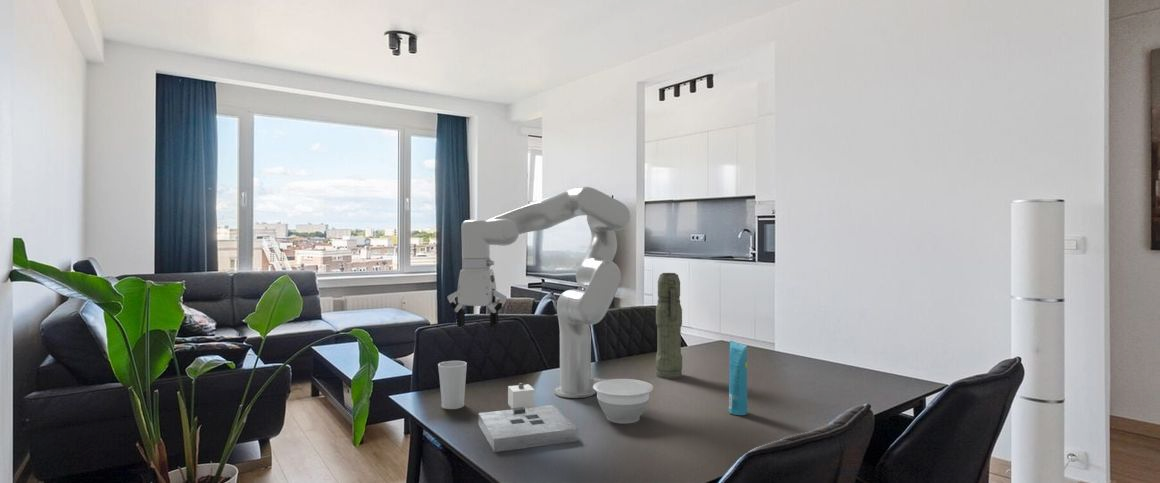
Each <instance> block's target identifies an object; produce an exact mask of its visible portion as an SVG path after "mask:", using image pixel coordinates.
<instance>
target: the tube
mask: <svg viewBox="0 0 1160 483" xmlns="http://www.w3.org/2000/svg"><path fill="white" fill-rule="evenodd" d="M729 341H730V342H729V376H728V377H729V380H728V383H729V384H728V413H729V414H731V415H734V416H746V415H747V414H748V373H747V372H748V359H747V356H748V354H747V351H748V349H747V347H748V345H747V344H744V343H740V342H737V341H734V340H732V339H730V340H729Z"/></svg>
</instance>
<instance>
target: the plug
mask: <svg viewBox="0 0 1160 483" xmlns="http://www.w3.org/2000/svg"><path fill="white" fill-rule="evenodd" d="M535 394H536V392H535V389H534V388H533V386H532V385H530V384H527V383H526V384H525V383H523V382H519V383H518V385H508V386H507V404H508V406H509V407H510V410H512V408H518V407H524V408H530V407H536V406H535V405H536V404H535V403H536V401H535V400H536V399H535V398H536V396H535Z"/></svg>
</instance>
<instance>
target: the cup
mask: <svg viewBox="0 0 1160 483" xmlns="http://www.w3.org/2000/svg"><path fill="white" fill-rule="evenodd" d="M467 363H468V362H466V361H464V360H463V361H462V360H448V361H441V362H439V363H438V364H437V368H438V376H439V385H440V386H439V388H440V397H441V398H440V399H441V400H440V401H441V408H442V409H445V410H457V409H461V408H464V406H465V395H466V394H465V393H466V392H465V391H466V380H467V378H466V377H467Z"/></svg>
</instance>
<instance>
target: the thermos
mask: <svg viewBox="0 0 1160 483" xmlns="http://www.w3.org/2000/svg"><path fill="white" fill-rule="evenodd" d="M680 297H681V281H680V276H679V274H677V273H676V272H662V273H660V274H659V276H658V279H657V298H658V299H657V304H656V308H655V324H656V328H657V331H656V334H657V347H656V348H657V350H656V355H655V368H656V374H655V375H656V377H658V378H661V379H668V380H671V379H672V380H673V379H674V380H677V379H680V378H682V376H683V373H682V371H683V356H682V353H681V352H682V348H681V347H682V344H681V342H682V340H681V339H682V337H681V336H682V334H681V333H682V332H681V330H682V329H681V328H682V325H683V309H682V304H681V299H680Z"/></svg>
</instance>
